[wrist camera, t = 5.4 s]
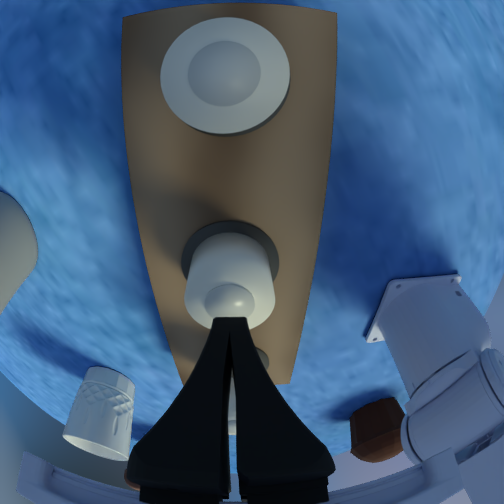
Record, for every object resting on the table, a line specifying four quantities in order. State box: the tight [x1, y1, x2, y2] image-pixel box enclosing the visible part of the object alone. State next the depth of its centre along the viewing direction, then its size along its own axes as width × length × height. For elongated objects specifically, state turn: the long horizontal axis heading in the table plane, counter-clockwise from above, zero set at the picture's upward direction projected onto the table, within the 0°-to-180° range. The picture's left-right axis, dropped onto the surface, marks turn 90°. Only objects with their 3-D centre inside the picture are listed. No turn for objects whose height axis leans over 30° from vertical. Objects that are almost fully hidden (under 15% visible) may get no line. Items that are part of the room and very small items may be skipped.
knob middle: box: [184, 232, 275, 329], centre depth 14 cm, size 4×4×3 cm
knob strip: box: [121, 3, 337, 386], centre depth 17 cm, size 10×28×3 cm, turn 179°
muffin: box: [350, 397, 405, 463], centre depth 34 cm, size 12×11×10 cm
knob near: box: [160, 17, 290, 134], centre depth 9 cm, size 4×4×3 cm
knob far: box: [228, 378, 236, 435], centre depth 18 cm, size 4×4×3 cm
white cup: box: [63, 366, 135, 461], centre depth 24 cm, size 8×8×10 cm
